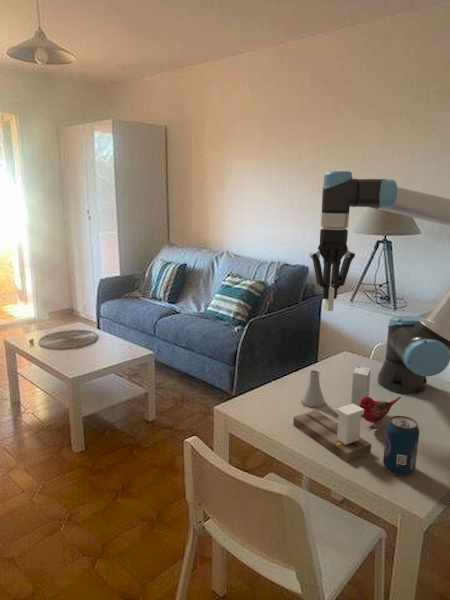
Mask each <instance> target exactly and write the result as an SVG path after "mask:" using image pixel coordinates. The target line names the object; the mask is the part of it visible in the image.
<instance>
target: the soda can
mask: <svg viewBox="0 0 450 600" xmlns="http://www.w3.org/2000/svg"><path fill="white" fill-rule="evenodd" d="M385 430H386V433H385V440H384V441H385V442H384V449H383V450H384V451H383V464H384V466H385V469H386V470H387V471H388V472H389V473H391V474H393V475H396V476H399V477H406V476H409V475H411V474H412V473H413V472H414V471H415V469H416V464H417V456H418V455H417V454H418V447H419V440H420V439H419V438H420V429H419V426H418V422H417V421H416V420H415V419H413V418H412V417H408V416H405V415H393V416H392V417H391V418H390V419H389V421H388V423H387V424H386V429H385Z"/></svg>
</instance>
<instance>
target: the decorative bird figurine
mask: <svg viewBox="0 0 450 600" xmlns="http://www.w3.org/2000/svg"><path fill="white" fill-rule="evenodd" d="M401 398H402V396H399V397H397V398H394V399H393V400H391V401H389V402H388V401H386V400H385V401H384V400H374V399H373V398H372V397H370V396H369V397H364V398H362V400H361V402H360V405H359V407H361V408H363V409H364V414H362V415H361V416H362V417H363V418H364V420H366V421H368V422H369V423H372V424H371V425H370V426H367V429H369V428H370V429H371V428H375V427H376V426H378V425H380V421H381V420H382V419H383V418H384V417H385V416H386V415H388V413H389V412H390V410H391V409H392V406H393V405H395V404H396V403H397V402H398V401H399V400H400V399H401Z"/></svg>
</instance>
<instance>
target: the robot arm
mask: <svg viewBox="0 0 450 600" xmlns="http://www.w3.org/2000/svg"><path fill="white" fill-rule="evenodd" d="M322 183H323V185H322V186H323V187H322V193H321V194H322V198H321V214H320V216H321V217H320V218H321V219H320V227H321V229H319V231H320V232H319V245H318V246H317V250H315V251H314V252H311V253H309V256H310V259H311V260H312V262H313V269H314V275H315V279H316V285H318V286H319V287H321V288H322V299H324V310H326V311H327V312H328V311H329V312H333V311H334V304H335V303H334V302H335V301H334V300H336V299H337V297H338V289H340V287H344V285H345V283H346V279H347V276H348V273H349V270H350V267H351V263H352V261H353V259H355V257H356V254H355V253H354V252H351V251H350V250H349V248H348V245H347V243H348V234H349V231H348V229H347V228H349V221H350V208H351V207H352V208H356V207H357V208H369V209H375V210H381V211H385V212H389V213H393V214H398V215H403V216H406V217H410V218H415V219H419V220H423V221H427V222H432V223H436V224H440V225H444V226H449V227H450V198H447V197H443V196H438V195H433V194H429V193H426V192H422V191H421V192H420V191H417V190H412V189H407V188H405V187H404V188H403V187H399V186H398V184H397V181H395V179H390V178H389V179H387V178H359V179H358V178H354V177H353V173H352V171H350V170H349V171H347V170H346V171H344V170H333V171H332V170H331V171H330V170H329V171H326V172H325V174H324V176H323V182H322ZM320 258H322V259H323V261H322V262H323V271H322V265H321V261H320V260H321V259H320ZM343 258H344V259H343ZM342 259H343V261H342ZM341 263H342V264H341ZM340 266H341V267H340ZM385 348H386V349H385V359H384V361H383V364H382V366H381V368H380V371H379V372H378V375H377V383H378V385H380V386H381V388H382V387H383V388H384V389H386V390H389V391H392V392H395V393H400V394H409V395H412V394H415V395H416V394H420V393H423V392H425V391H426V390H427V384H428V380H427V377H431V376H436V375H439V374H440V373H442V372H444V370H445V369H446V368H447V367H448V366H449V364H450V286H449V287H448V289H447V290H446V291H445V292H444V294H443V296H442V297H441V298H440V300H439V301H438V302H437V304H436V305H435V307H434V308H433V309H432V310H431V312H430V313H429V315H428V316H427V317H420V316H411V315H395V316H394V315H393V316H391V317H390V318H389V321H388V325H387V340H386V347H385Z"/></svg>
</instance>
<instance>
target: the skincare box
mask: <svg viewBox="0 0 450 600" xmlns="http://www.w3.org/2000/svg"><path fill="white" fill-rule="evenodd" d="M370 381H371V368H369V367H363V366H356V367H355V369H354V371H353V373H352V386H351V401H350V404H355V405H357V406H359V405H360V402H361V400H362V398H364V397H370V385H371V382H370Z"/></svg>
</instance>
